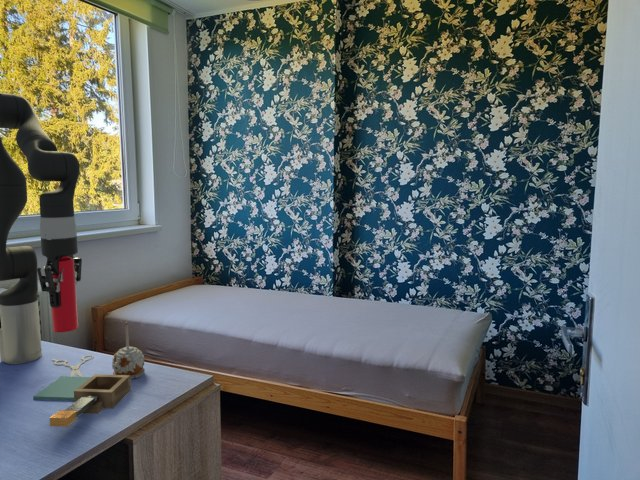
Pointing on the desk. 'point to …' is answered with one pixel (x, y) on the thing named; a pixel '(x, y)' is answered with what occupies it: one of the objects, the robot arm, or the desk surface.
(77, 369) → the scissors
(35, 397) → the coaster
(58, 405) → the desk surface
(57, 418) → the lever
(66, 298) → the bottle
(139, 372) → the caramel apple
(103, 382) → the holder
